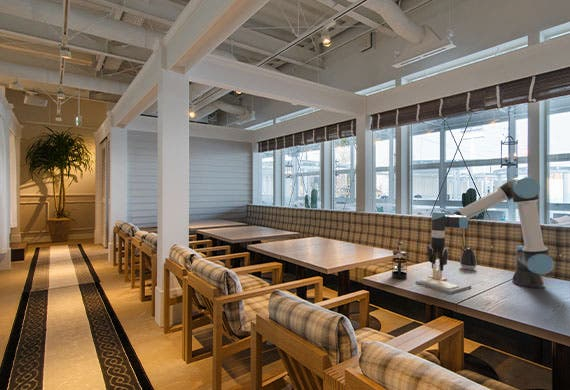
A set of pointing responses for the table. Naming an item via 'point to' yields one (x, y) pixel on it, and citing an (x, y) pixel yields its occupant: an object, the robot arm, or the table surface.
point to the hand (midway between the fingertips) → (437, 274)
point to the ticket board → (444, 285)
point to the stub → (435, 275)
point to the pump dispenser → (468, 259)
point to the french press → (399, 265)
